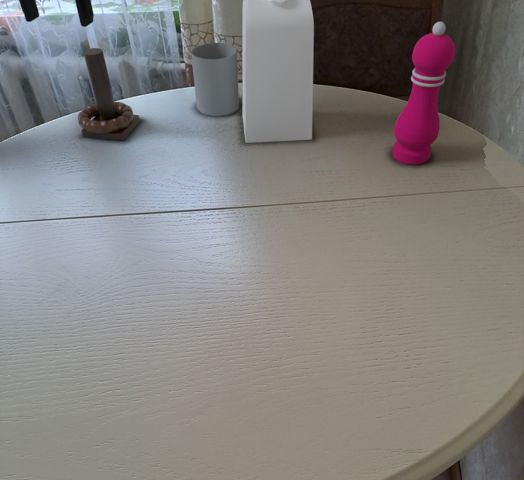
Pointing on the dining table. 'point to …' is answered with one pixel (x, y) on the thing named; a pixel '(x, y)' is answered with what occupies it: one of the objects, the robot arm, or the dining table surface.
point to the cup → (216, 78)
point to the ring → (107, 125)
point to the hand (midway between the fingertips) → (60, 21)
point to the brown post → (104, 96)
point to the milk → (277, 70)
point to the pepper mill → (423, 98)
